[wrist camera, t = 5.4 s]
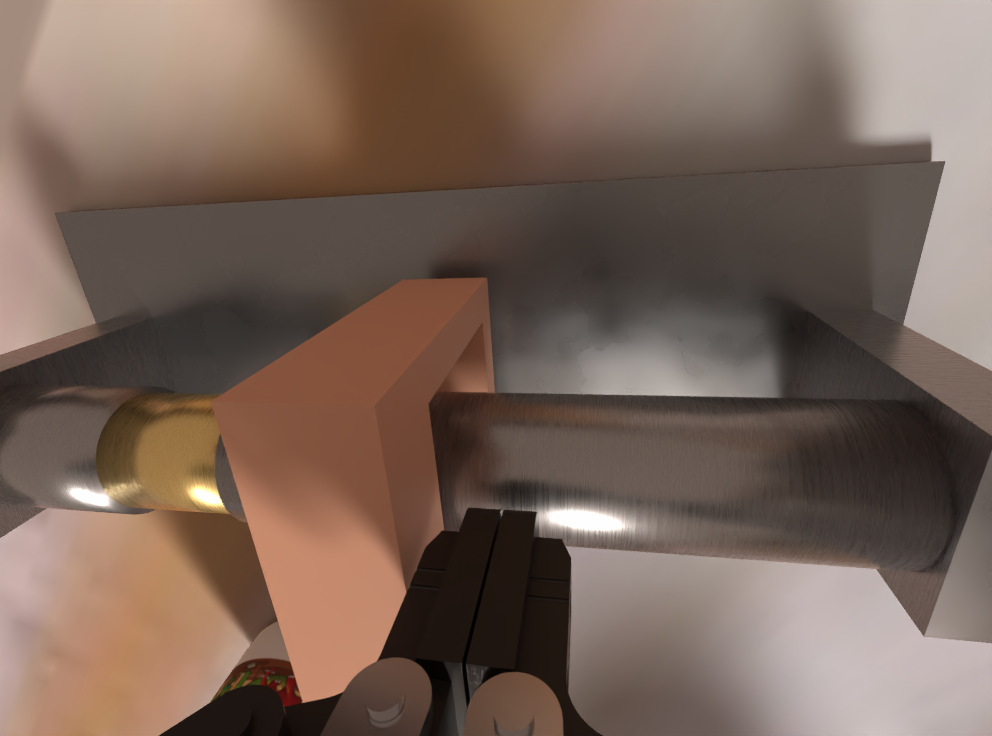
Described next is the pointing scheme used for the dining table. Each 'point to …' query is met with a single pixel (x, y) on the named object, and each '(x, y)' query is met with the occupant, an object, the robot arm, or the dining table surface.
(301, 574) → the collar
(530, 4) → the dining table surface
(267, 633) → the milk bottle
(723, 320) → the rail
